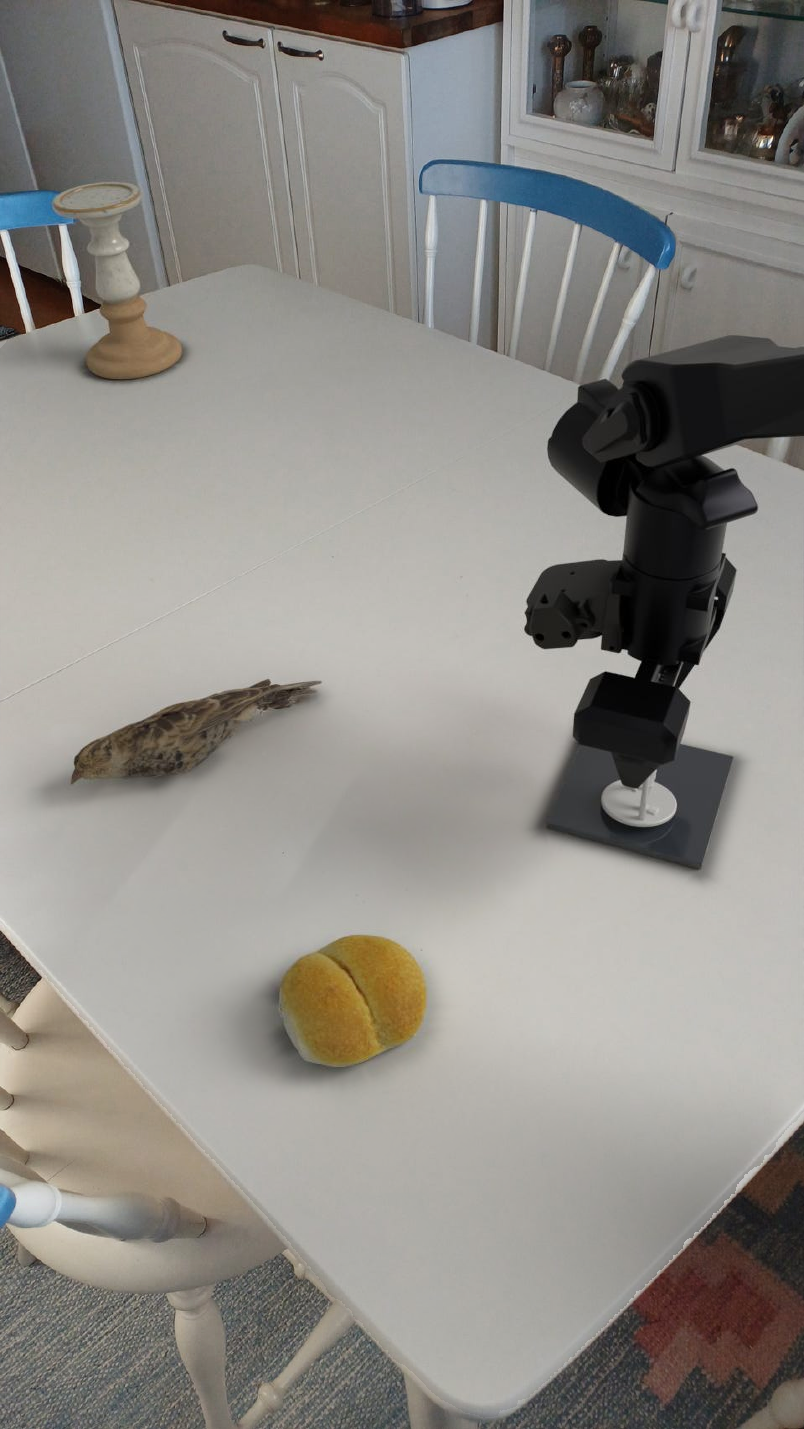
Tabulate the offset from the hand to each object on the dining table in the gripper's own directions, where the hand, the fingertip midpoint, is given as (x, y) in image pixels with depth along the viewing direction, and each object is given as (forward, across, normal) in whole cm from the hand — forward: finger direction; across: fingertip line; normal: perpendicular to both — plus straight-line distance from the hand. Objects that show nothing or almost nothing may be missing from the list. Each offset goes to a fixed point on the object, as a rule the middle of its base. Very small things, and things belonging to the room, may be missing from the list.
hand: (647, 740), depth 75 cm
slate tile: (+6, 0, 0) cm, 6 cm away
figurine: (+5, +2, 0) cm, 5 cm away
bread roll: (+6, +24, -12) cm, 27 cm away
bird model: (+6, +7, -33) cm, 34 cm away
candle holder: (+6, -53, -80) cm, 96 cm away
